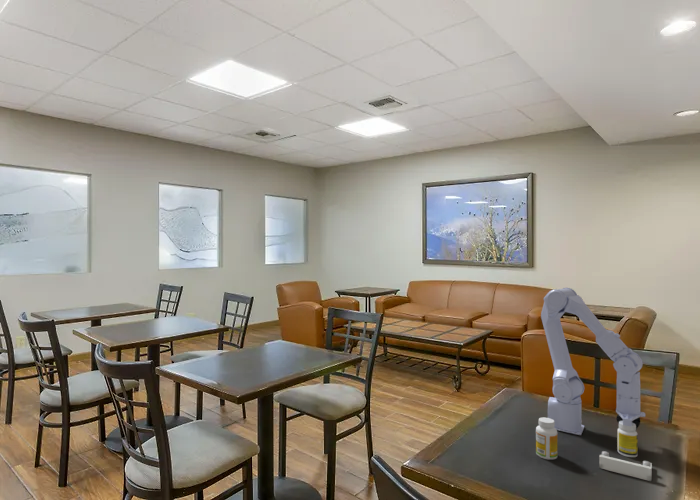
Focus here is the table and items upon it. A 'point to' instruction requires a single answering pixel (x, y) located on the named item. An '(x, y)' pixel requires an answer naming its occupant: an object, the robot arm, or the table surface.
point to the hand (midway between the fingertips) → (628, 442)
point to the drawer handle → (625, 467)
